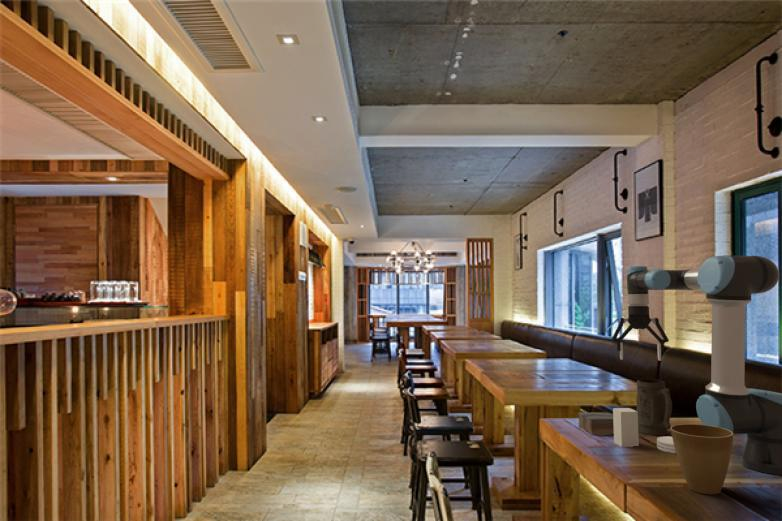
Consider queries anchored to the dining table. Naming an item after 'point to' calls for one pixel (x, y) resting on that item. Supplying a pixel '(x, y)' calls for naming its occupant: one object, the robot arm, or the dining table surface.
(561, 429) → the dining table surface
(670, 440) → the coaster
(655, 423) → the beer stein
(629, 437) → the cream block
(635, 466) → the dining table surface
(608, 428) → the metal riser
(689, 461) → the plant pot
